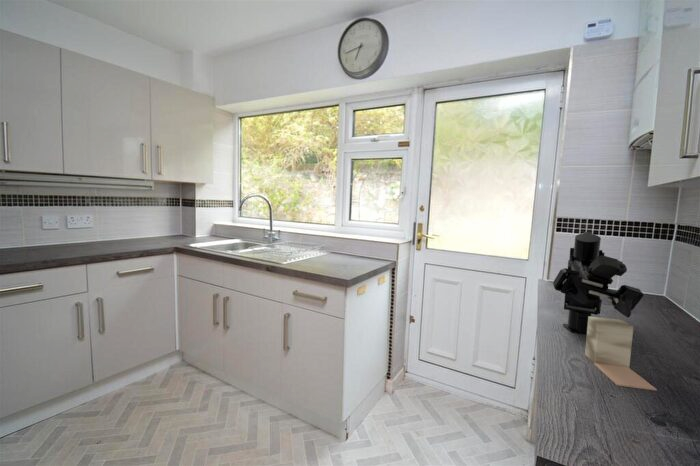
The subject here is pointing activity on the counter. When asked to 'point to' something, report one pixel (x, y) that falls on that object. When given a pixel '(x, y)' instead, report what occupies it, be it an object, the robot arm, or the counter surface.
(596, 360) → the birch block
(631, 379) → the pad
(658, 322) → the counter surface
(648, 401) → the counter surface
